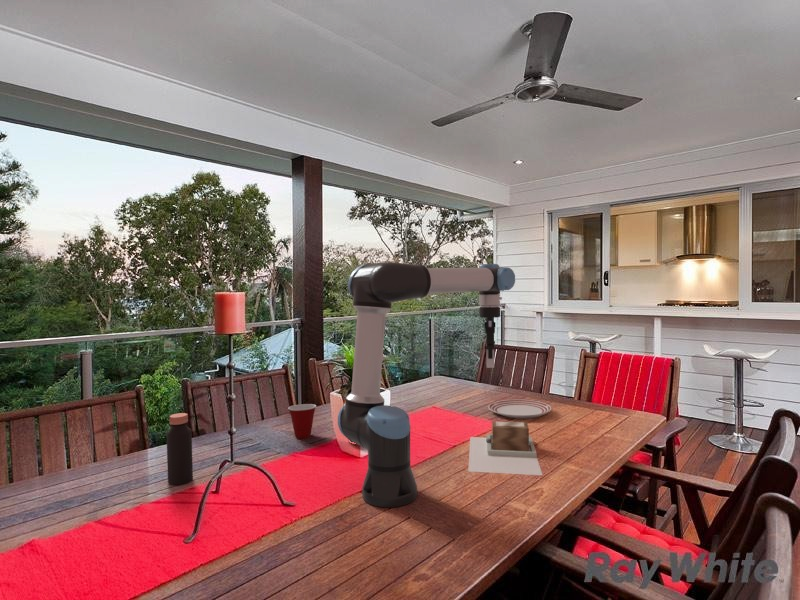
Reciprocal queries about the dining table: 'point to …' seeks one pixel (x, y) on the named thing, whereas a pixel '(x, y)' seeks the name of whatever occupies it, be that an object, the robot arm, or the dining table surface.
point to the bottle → (179, 450)
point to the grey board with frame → (501, 458)
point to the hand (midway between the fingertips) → (490, 364)
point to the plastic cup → (302, 419)
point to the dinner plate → (520, 408)
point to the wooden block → (510, 436)
